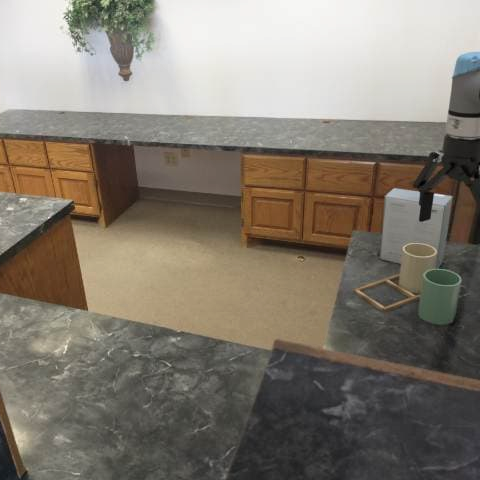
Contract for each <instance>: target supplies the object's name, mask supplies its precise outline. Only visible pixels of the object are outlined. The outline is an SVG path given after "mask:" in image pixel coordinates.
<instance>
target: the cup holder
mask: <svg viewBox="0 0 480 480" xmlns="http://www.w3.org/2000/svg"><path fill="white" fill-rule="evenodd" d="M399 275H400V273H396V274H394V275H391V276H388V277H385V278H382V279H380V280H377V281H374V282H371V283H368V284H365V285H362V286H360V287H357V288H354V289H353V294H355V295H356V296H358V297H359V298H361V299H363V300H364V301H365V302H367V303H369V304H370V305H372V306H373V307H375V308H376V309H377V310H379V311H381V312H382V313H384V314H385V313H387V312H390V311H392V310H395V309H398V308H400V307H403V306H406V305H409V304H412V303H414V302H416V301H419V300H420V294H421V293H419V294H416V295H415V293H411V292H409V291H407V290H405V289H403V288H402V287H400V286H399V284H397V283H395V282H393V281H396V280H399ZM385 284H386V285H387V286H389V287H391V288H393V289H394V290H396V291H397V292H399V293H401V294H402V295H404V296H406V297H407V298H405V299H402V300H400V301H397V302H395V303H392V304H389V305H386V306H384V305H382V304H381V303H380V302H378V301H376V300H374V299H373V298H372V297H370V296H369V295H367V294H365V293H364V292H365V291H367V290H371V289H375V288H376V287H377V288H378V287H380V286H383V285H385Z"/></svg>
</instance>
